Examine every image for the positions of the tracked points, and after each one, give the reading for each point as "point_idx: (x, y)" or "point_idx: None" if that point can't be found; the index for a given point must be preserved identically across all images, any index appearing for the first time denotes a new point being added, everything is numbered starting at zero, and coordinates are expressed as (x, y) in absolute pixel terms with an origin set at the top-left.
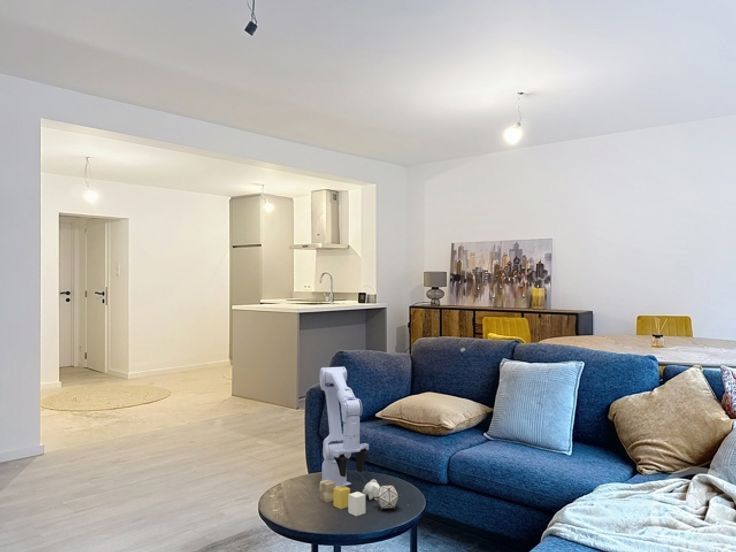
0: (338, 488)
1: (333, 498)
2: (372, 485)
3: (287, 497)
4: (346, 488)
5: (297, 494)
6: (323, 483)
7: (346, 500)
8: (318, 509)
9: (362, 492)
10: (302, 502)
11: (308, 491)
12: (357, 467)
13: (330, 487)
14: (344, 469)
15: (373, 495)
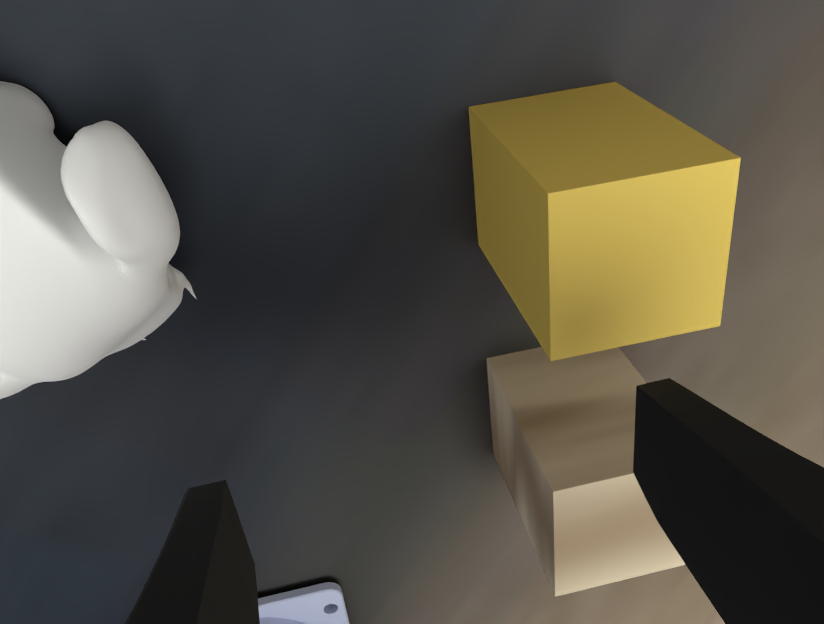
0: (684, 277)
1: (519, 364)
2: (39, 217)
3: None
4: (595, 218)
5: (673, 578)
6: None
7: (556, 124)
8: (792, 204)
9: (188, 285)
10: (767, 421)
11: (563, 604)
12: (251, 615)
13: (617, 440)
14: (789, 455)
15: (58, 142)
